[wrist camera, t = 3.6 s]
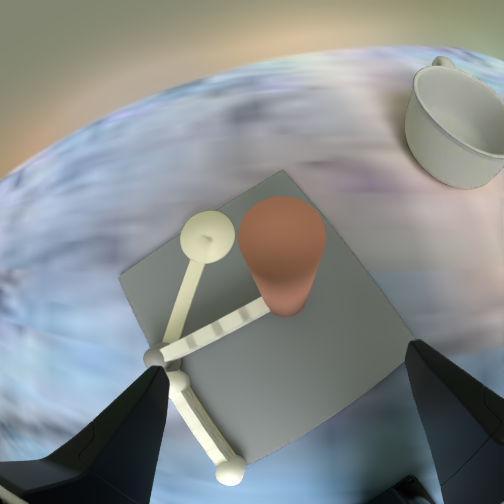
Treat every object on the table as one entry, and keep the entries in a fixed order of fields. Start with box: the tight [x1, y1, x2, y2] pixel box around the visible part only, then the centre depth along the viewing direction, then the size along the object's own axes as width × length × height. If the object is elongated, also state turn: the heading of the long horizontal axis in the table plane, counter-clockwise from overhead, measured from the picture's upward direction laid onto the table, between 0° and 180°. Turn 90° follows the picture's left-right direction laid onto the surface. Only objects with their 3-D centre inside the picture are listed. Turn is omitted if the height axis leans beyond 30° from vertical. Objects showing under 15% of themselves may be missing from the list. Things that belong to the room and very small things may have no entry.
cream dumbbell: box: [166, 371, 247, 486], centre depth 18 cm, size 9×2×2 cm, turn 33°
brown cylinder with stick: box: [143, 196, 326, 370], centre depth 15 cm, size 12×3×11 cm, turn 118°
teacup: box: [405, 56, 504, 189], centre depth 20 cm, size 14×11×8 cm
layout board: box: [118, 170, 415, 465], centre depth 21 cm, size 19×17×1 cm
